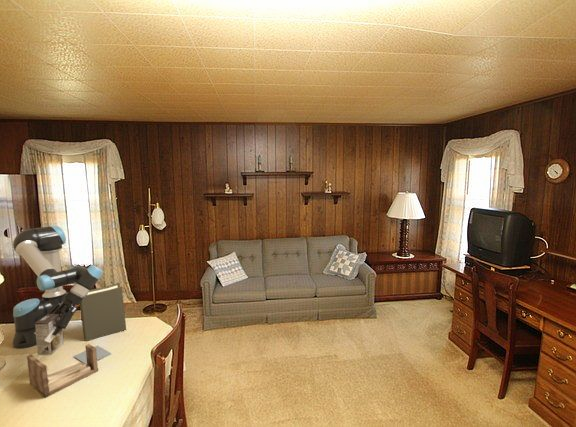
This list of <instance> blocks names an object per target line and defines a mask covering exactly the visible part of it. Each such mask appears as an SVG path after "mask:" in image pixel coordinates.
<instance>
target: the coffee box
mask: <svg viewBox="0 0 576 427" xmlns="http://www.w3.org/2000/svg"><path fill="white" fill-rule="evenodd" d="M61 315H62V314H46V315H45V316H44V317H42V318H41V319H39V320H38V321H37V322H35V323H34V324H35V332H36V341H37V345H36V349H37V355H38V356H52V355H53V354H55V353H56V352H57V351H58V350H59V349H60V348H62V346H64V336H63V329H61V330H60V331H59V332H58V333H57V335H56V336H55V337H54V338H53V340H52V341H51V342H50V343H49V342H47V341H44V340H45V338H46V337H47V336H48V335H49V333H50V332H51V331H52V330H53V328H54V327H55V326H56V325H57V324H58V322H59V320H60V317H61Z"/></svg>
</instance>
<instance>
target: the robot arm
mask: <svg viewBox="0 0 576 427" xmlns="http://www.w3.org/2000/svg"><path fill="white" fill-rule="evenodd" d="M66 237H67V236H66V234H65V232H64V230H63V228H61V227H60V226H59V225H49V226H43V227H35V228H28V229H24V230H22V231H20V232H19V233H18V234H17V235H16V236H15V237H14V239H13V242H12V248H13V250H14V251H15V253H16V254H17V255H19V256H20V257H22V258H23V259H24V261H25V263H27V265H28V266H29V267H30V268H31V270H32V272H34V273H35V275H36V276H37V277H36V285H37V288H38V289H39V290H40V291H41V292H44V293H43V294H42V295H41V297H42V298H41V299H39V298H29V299H26V300H23V301H20V302H18V303H17V304H16V305H15V306H13V310H12V311H13V314H12V317H13V320H14V322H13V323H14V329H15V333H14V337H13V340H12V347H13V348H14V349H26V348H30V347H34V346H37V341H36V332H35V324H34V323H35V322H37V321H38V320H39V319H41V318H42V317H44V316H45V315H46V314H60V315H61V317H60V320H59V322H58V324H57V325H56V326H55V327H54V328H53V330H52V331H51V332H50V333H49V335H48V336H47V337H46V338H45V340H44V341H47V342H49V343H50V342H51V341H52V340H53V338H54V337H55V336H56V335H57V333H58V332H59V331H60V330H61V329H62V330H65V329H66V328H67V326H68V324H69V323H70V321H71V320H72V317H73V316H74V314H75V313H76V312H77V311H78V309H77V308H76V307H75V306H80V303H81V301H82V300H83V297H85V296H86V295H87V294H88V292H89V291H90V290H92V288H93V287H94V286H95V285H96V284H97V282H98V281H99V280H100V279H101V277H102V275H103V274H104V270H102V269H101V268H99V267H97V266H95V265H93V264H91V265H89V267H85V266H82V265H73V266H72V267H70V268H69V269H65V270H62V267H61V254H60V251H61V250H62V249H63V245H64V244H66V241H67V238H66ZM71 284H74V285H73V286H72V287H71V288H70V289H69V290H70V291H68V292H67V290H65V289H64V286H67V285H71Z"/></svg>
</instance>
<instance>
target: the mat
mask: <svg viewBox="0 0 576 427" xmlns="http://www.w3.org/2000/svg"><path fill="white" fill-rule="evenodd" d="M94 347H95V348H96V352H97V362H98V361H100V360H103V359H104V358H106V357H108V356H110V355H112V352H110V351H108V350H107V349H105V348H103V347H101V346H99V345H95V346H94ZM73 358H75V359H76V360H78V362H82V363H84V364H86V365H87V358H86V350H84V351H82V352H80V353H77V354H74V355H73Z"/></svg>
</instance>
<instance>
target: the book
mask: <svg viewBox="0 0 576 427" xmlns="http://www.w3.org/2000/svg"><path fill="white" fill-rule="evenodd" d="M79 308H80V309H79V310H80V317H81V324H82V332H83V333H82V334H83V339H84V341H86V342H88V341H92V340H95V339H98V338H101V337H105V336H108V335H112V334H116V333H120V331H121V332H124V331H123V330H126V331H127V323H126V314H125V313H126V312H125V304H124V295H123V286H121V283H120V282H118V283H117V282H116V283H114V284H110V285H106V286H103V287H98V288H93V289H92V288H91V290H90V291H89V292H88V294H87V295H86V296H85V297H83V300H82V301H81V303H80V304H79Z"/></svg>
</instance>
